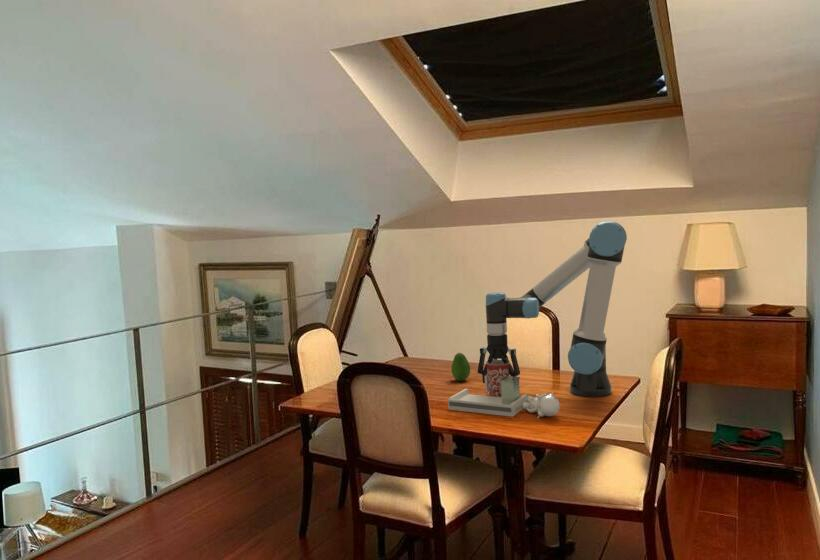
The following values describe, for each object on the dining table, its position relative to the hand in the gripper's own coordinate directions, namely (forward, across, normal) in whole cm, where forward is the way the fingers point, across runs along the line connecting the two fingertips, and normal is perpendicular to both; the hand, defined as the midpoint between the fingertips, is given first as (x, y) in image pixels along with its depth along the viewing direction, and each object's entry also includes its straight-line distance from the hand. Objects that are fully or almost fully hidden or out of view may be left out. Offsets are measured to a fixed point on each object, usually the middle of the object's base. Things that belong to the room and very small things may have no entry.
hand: (499, 392), depth 233 cm
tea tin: (-1, -10, +15) cm, 18 cm away
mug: (+2, 0, 0) cm, 2 cm away
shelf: (+1, -2, +15) cm, 15 cm away
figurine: (+2, -21, +16) cm, 27 cm away
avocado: (+1, +24, -18) cm, 30 cm away
